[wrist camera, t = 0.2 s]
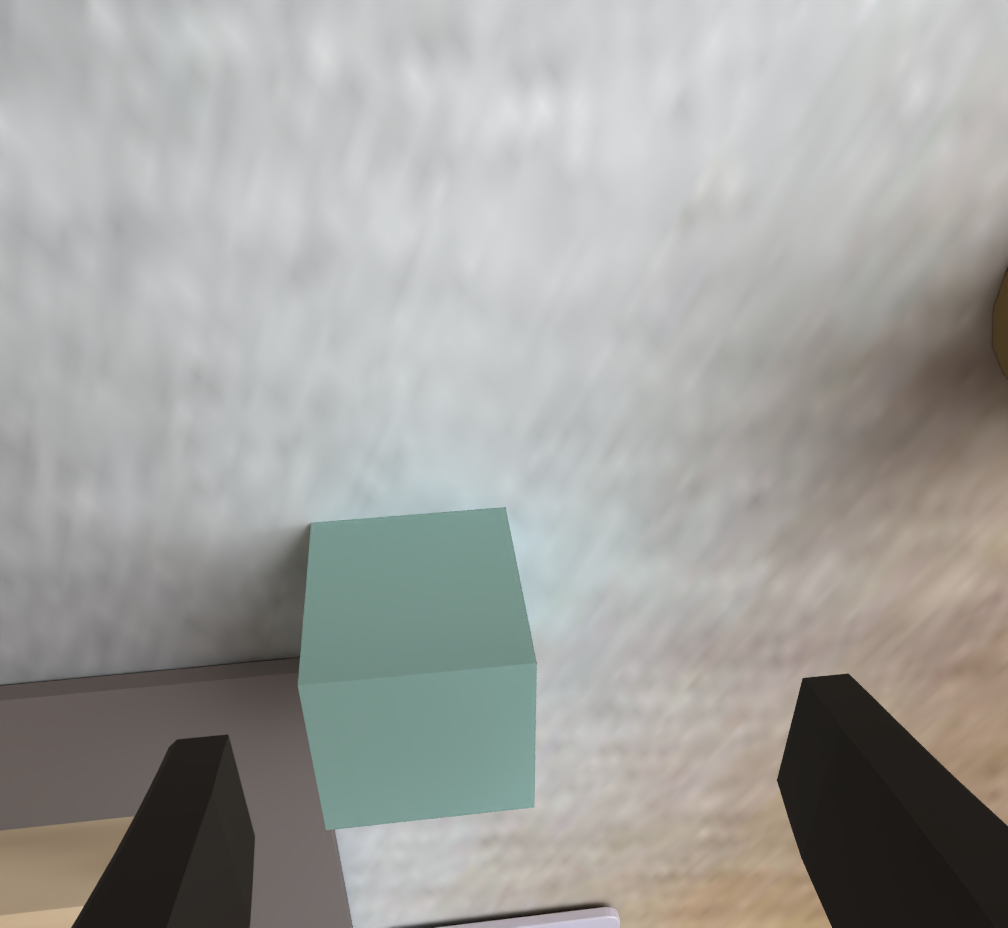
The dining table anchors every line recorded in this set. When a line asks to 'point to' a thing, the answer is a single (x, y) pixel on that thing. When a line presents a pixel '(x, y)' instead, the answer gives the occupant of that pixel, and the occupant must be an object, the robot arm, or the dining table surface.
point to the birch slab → (54, 870)
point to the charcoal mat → (142, 747)
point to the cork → (1001, 326)
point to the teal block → (417, 668)
